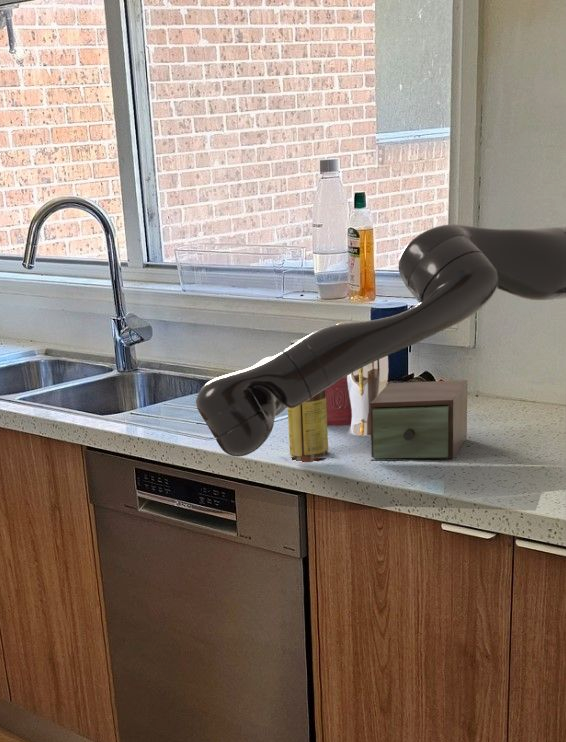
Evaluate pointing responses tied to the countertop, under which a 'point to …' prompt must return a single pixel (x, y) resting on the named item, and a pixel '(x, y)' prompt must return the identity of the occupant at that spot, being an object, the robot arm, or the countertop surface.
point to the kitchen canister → (338, 403)
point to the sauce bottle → (308, 428)
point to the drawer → (411, 432)
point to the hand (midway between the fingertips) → (298, 364)
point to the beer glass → (365, 394)
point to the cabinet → (429, 396)
